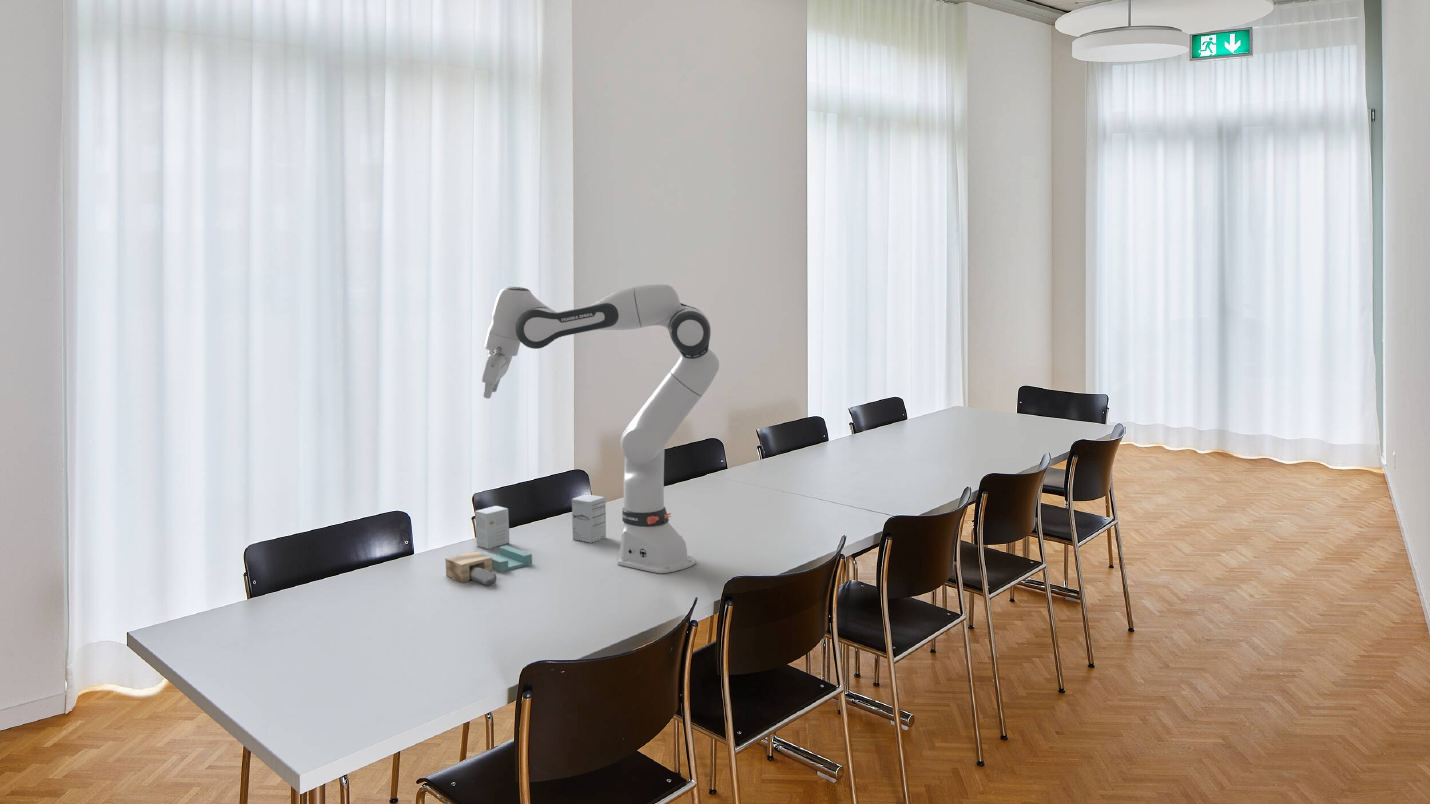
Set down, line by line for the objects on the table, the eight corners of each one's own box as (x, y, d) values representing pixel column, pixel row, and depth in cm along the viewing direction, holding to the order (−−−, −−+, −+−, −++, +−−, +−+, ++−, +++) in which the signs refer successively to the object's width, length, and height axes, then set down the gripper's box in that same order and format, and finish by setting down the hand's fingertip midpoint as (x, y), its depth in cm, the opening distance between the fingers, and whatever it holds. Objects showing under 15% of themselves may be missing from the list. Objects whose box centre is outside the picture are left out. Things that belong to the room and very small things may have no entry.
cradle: (532, 564, 262) (531, 554, 262) (500, 572, 255) (500, 562, 255) (507, 554, 271) (507, 545, 270) (476, 562, 264) (475, 552, 263)
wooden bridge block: (492, 574, 254) (491, 557, 253) (462, 582, 247) (461, 565, 247) (475, 568, 259) (475, 551, 259) (446, 575, 253) (445, 558, 252)
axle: (498, 582, 247) (494, 570, 246) (486, 588, 245) (483, 576, 243) (461, 567, 259) (457, 555, 258) (449, 573, 257) (446, 561, 256)
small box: (497, 539, 286) (496, 505, 285) (510, 543, 283) (508, 508, 281) (475, 545, 280) (474, 510, 278) (488, 549, 276) (486, 513, 275)
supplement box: (571, 540, 285) (570, 498, 283) (587, 534, 291) (586, 493, 290) (591, 543, 281) (590, 501, 279) (607, 537, 288) (606, 496, 286)
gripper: (508, 353, 247) (495, 404, 249) (518, 343, 267) (506, 391, 269) (483, 347, 246) (471, 398, 248) (496, 337, 266) (484, 385, 268)
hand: (489, 394), depth 259 cm, fingers open, 8 cm apart
